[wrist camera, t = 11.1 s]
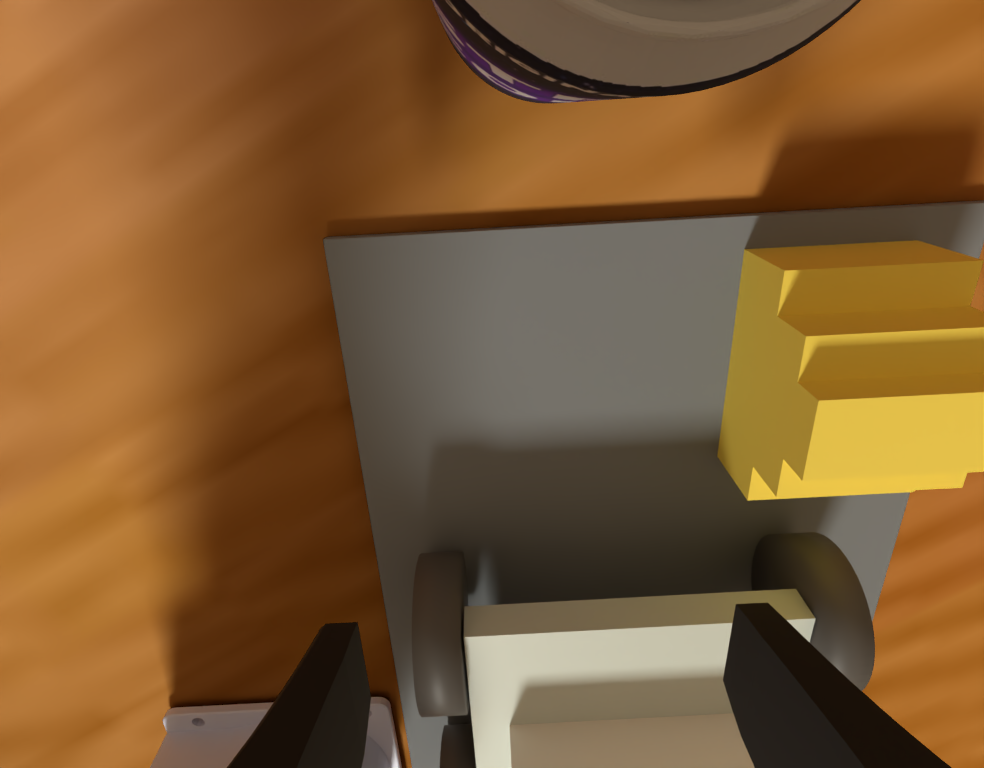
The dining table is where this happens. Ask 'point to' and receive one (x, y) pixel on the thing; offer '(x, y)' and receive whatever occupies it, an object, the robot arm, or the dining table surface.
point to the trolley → (617, 663)
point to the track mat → (578, 408)
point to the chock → (854, 371)
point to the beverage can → (627, 43)
